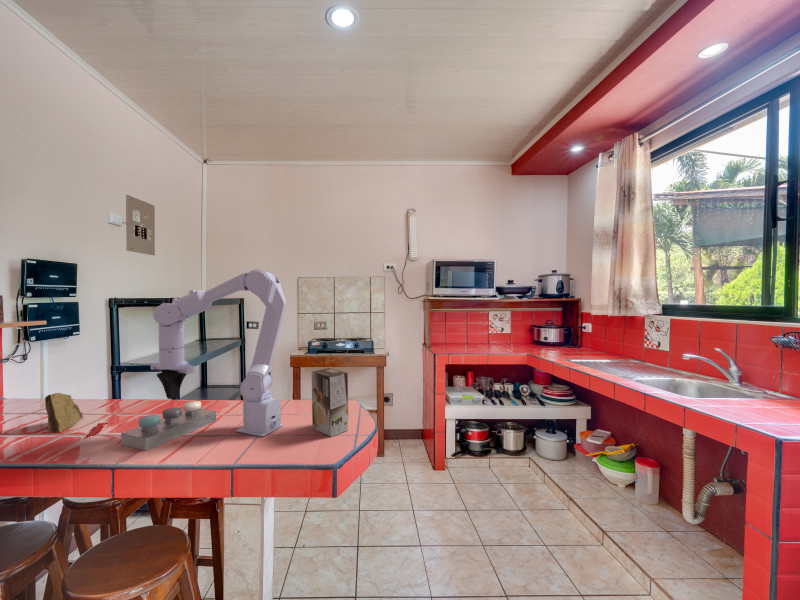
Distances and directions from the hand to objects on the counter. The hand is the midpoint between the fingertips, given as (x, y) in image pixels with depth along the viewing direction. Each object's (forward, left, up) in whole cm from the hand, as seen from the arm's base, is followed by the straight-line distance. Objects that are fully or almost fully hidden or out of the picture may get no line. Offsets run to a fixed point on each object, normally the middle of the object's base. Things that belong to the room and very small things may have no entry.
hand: (172, 397), depth 94 cm
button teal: (0, +6, -7) cm, 9 cm away
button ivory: (0, -6, -7) cm, 9 cm away
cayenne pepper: (+21, +7, -10) cm, 24 cm away
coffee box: (-39, -17, -10) cm, 43 cm away
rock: (+33, +7, -10) cm, 36 cm away
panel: (0, 0, -10) cm, 10 cm away
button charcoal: (0, 0, -7) cm, 7 cm away
